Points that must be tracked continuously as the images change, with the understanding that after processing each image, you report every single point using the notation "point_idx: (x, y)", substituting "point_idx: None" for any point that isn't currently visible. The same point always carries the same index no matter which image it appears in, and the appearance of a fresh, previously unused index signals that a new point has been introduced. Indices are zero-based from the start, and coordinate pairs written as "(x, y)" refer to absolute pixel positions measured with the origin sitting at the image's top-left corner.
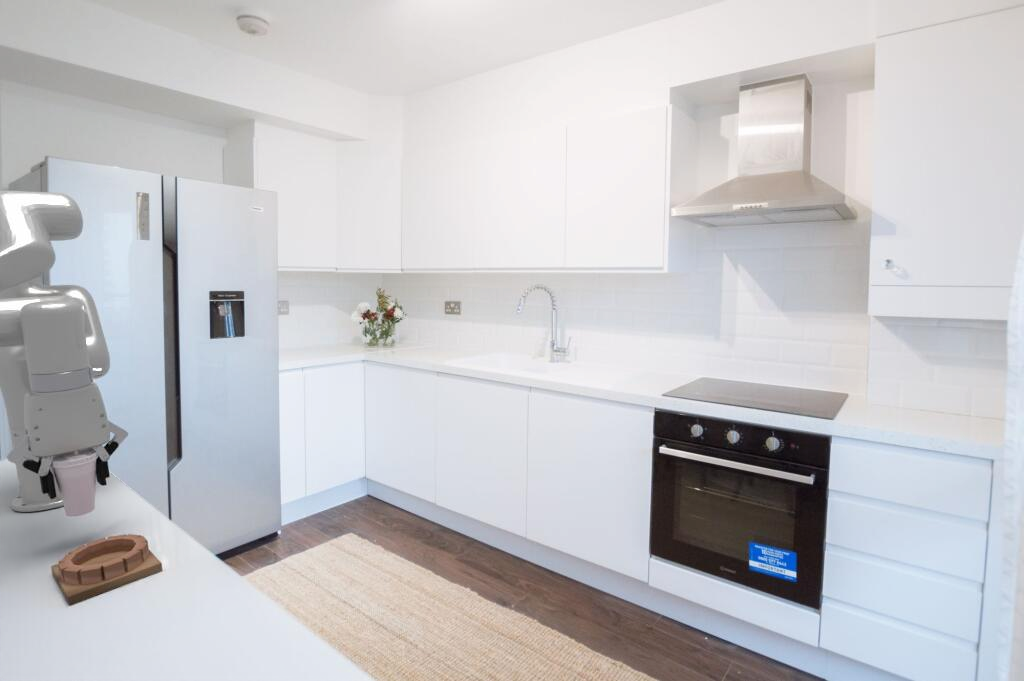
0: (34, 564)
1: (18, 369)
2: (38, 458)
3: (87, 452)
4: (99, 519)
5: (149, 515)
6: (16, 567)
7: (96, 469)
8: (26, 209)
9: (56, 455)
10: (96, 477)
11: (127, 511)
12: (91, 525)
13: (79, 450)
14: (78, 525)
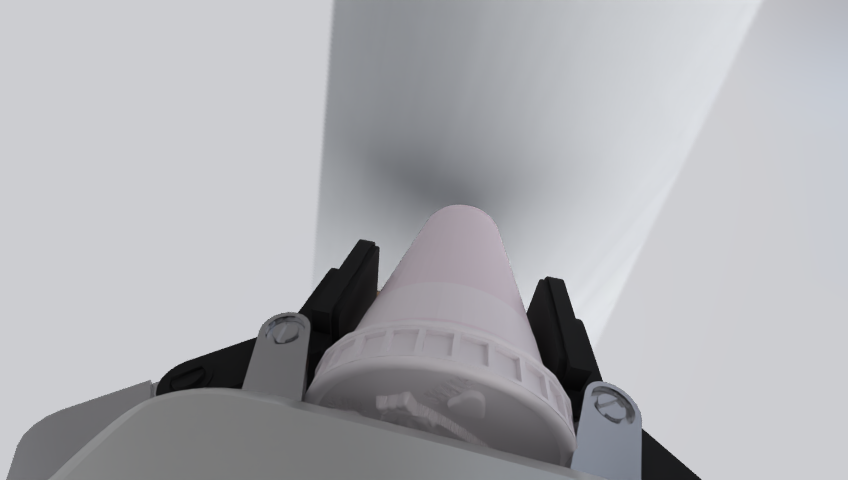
0: (359, 219)
1: None
2: (245, 384)
3: None
4: (570, 58)
5: (654, 186)
6: (331, 199)
7: (541, 343)
8: None
9: (350, 388)
10: (543, 286)
11: (659, 74)
12: (529, 92)
13: (494, 420)
14: (509, 47)
